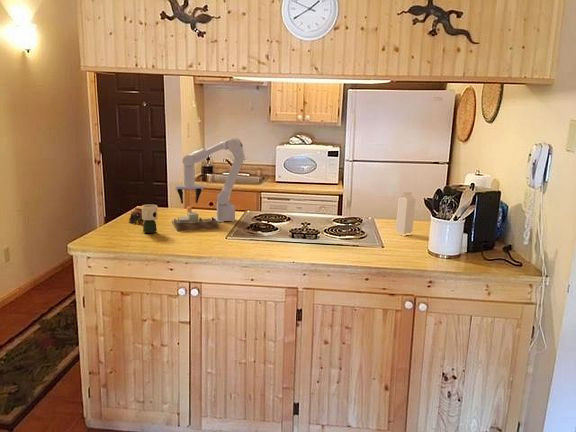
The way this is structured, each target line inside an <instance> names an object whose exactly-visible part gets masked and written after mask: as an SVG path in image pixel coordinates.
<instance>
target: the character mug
mask: <svg viewBox="0 0 576 432" xmlns="http://www.w3.org/2000/svg"><path fill="white" fill-rule="evenodd" d="M141 209H142V219H143V227H142V228H143V229H142V232H143V233H148V234H154V233H157V232H158V230H157V223H156V220H158V205H156V204H143V205H141Z"/></svg>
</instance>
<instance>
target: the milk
mask: <svg viewBox="0 0 576 432" xmlns="http://www.w3.org/2000/svg"><path fill="white" fill-rule="evenodd" d="M397 201H398V202H397V210H396V212H397V213H396V222H395V231H396V232H400V233H403V234H406V233H411V232H412V233H413V227H414V217H415V210H416V209H415V207H416V198H415V197H414V196H413V194H412V191H407V192H403V193H402V195H401V196H399V197H398V200H397Z"/></svg>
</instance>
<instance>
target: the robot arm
mask: <svg viewBox="0 0 576 432" xmlns="http://www.w3.org/2000/svg"><path fill="white" fill-rule="evenodd" d="M221 150H223V151H227V150H229V152H230V153H231V155H232V156H233V157H234V160H233V162H232V165H231V167H230V170H229V172H228V174H227V177H226V180H225V181H224V184H223V187H222V189H221V191H220V192H219V193H218V194H217V197H216V217H214V219H215V220H216V221H218V223H223V222H224V221H232V222H236V206H235V204H234V203H231V202H230V200H231V196H232V190H233V187H234V185H235V182H236V180H237V178H238V175H239V173H240V171H241V167H242V165H243V164H244V161H245V153H244V151H245V150H244V146H243V143H242V141H241V139H239V138H237V137H233V138H231V139H227V140H222V141H221V142H218V143H217V144H214V145H212V146H211V147H209V148H207V149H206V148H203V147H202V148H201V147H199V148H198V149H197V150H195V151H193V152H190V153H189V154H186V155H185V156H183V158H182V164H183V185H175V186H174V190H175V191H176V192H177V193H178V196H179V200H180V204H181V205H182V204H184V190H185V191H186V190H195V203H196V204H198V202H199V199H200V195H201V193H202V191H203V190H204V185H202V184H201V185H200V184H199V185H197V184H196V179H195V177H196V176H195V174H196V170H195V164H197V163H200V162H202V161H204V160H206V159H208V158H209V155H211V154H212V155H213V154H214V153H216V152H219V151H221ZM224 223H225V222H224Z"/></svg>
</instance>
